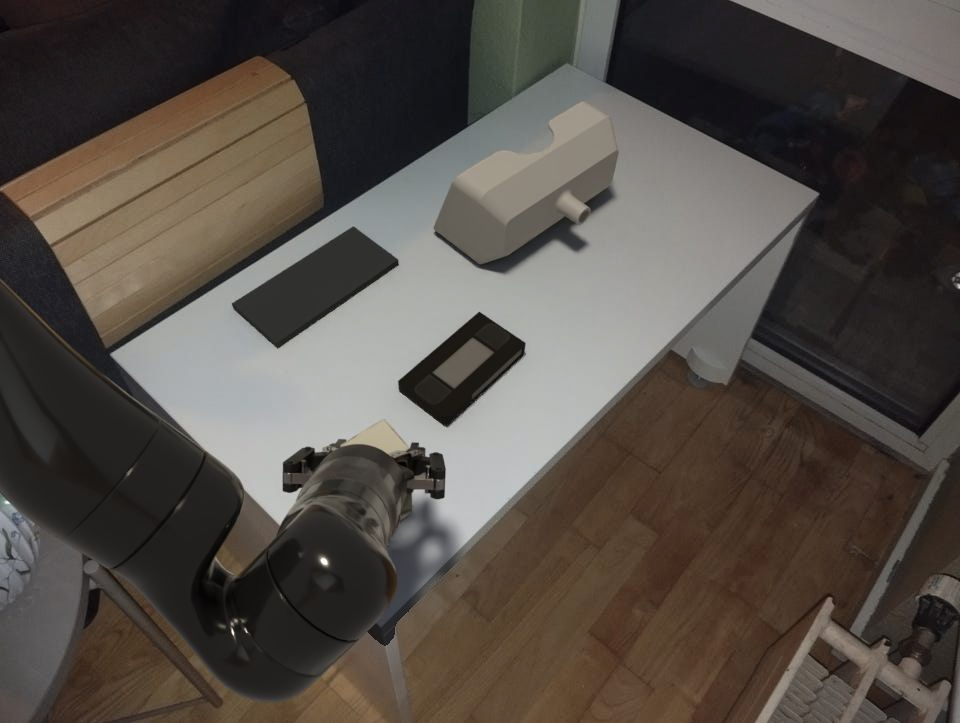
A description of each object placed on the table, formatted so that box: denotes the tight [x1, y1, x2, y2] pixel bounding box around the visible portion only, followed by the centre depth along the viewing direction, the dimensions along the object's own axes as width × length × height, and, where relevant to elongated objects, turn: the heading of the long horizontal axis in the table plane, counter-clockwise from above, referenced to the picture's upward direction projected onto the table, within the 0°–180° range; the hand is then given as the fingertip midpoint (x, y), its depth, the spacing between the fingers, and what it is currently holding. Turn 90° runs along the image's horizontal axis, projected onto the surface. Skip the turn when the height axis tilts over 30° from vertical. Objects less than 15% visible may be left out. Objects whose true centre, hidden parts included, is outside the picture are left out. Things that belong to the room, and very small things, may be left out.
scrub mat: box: [231, 226, 400, 349], centre depth 99 cm, size 20×9×1 cm, turn 137°
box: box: [340, 418, 413, 522], centre depth 75 cm, size 5×4×13 cm
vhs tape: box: [397, 311, 526, 427], centre depth 91 cm, size 8×14×2 cm, turn 139°
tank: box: [432, 100, 620, 265], centre depth 103 cm, size 25×16×12 cm, turn 134°
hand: (378, 450), depth 74 cm, fingers closed on box, 6 cm apart
